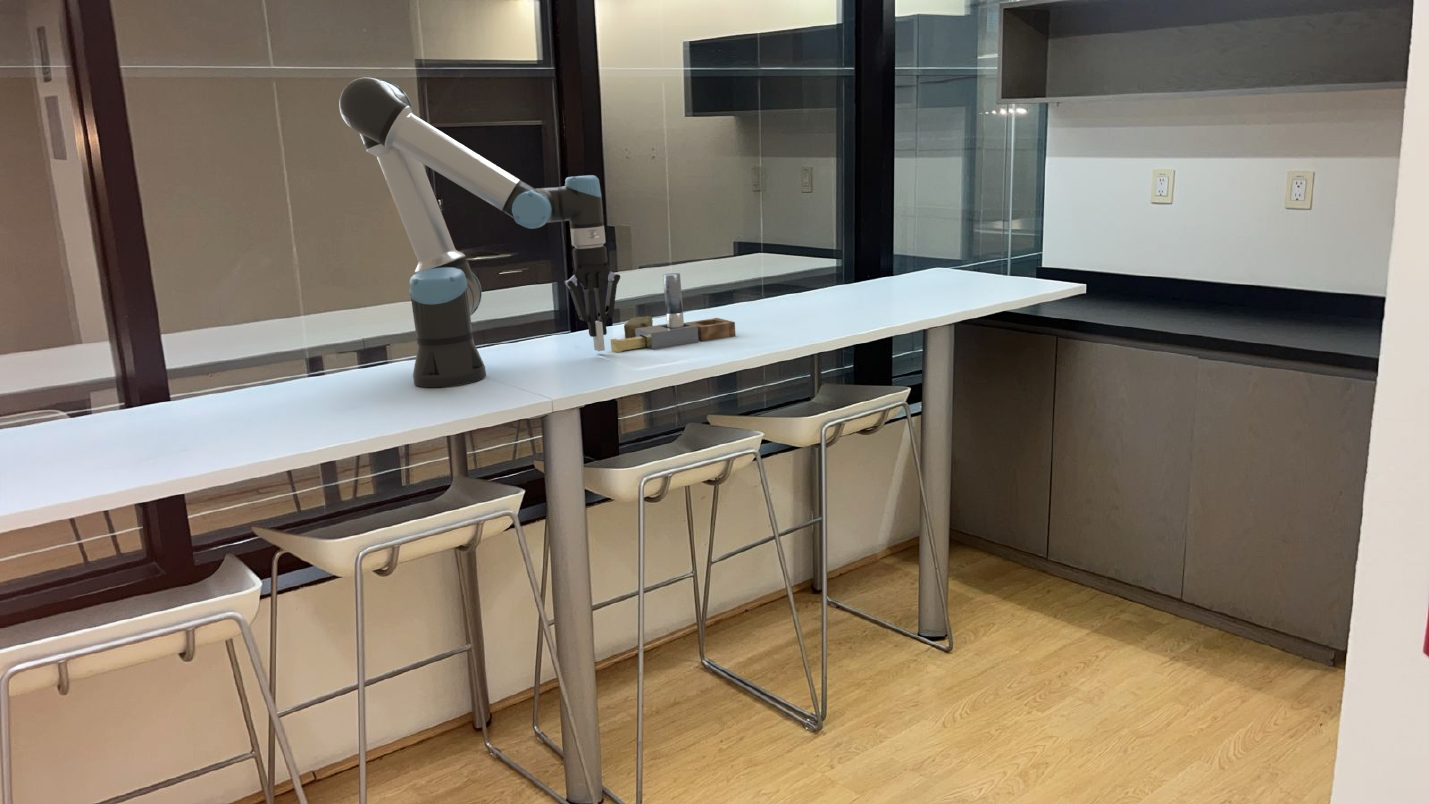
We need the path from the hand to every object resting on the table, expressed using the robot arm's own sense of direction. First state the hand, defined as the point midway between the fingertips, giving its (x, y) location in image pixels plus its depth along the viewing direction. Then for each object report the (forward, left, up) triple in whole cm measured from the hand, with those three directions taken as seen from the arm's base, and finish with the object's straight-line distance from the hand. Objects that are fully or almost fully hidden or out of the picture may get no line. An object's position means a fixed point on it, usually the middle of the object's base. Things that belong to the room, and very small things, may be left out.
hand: (599, 349), depth 242 cm
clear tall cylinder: (+20, 0, -1) cm, 20 cm away
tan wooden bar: (+8, 0, -1) cm, 8 cm away
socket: (+17, 0, -2) cm, 17 cm away
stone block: (+17, +15, -2) cm, 22 cm away
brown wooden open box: (+29, 0, -2) cm, 29 cm away
